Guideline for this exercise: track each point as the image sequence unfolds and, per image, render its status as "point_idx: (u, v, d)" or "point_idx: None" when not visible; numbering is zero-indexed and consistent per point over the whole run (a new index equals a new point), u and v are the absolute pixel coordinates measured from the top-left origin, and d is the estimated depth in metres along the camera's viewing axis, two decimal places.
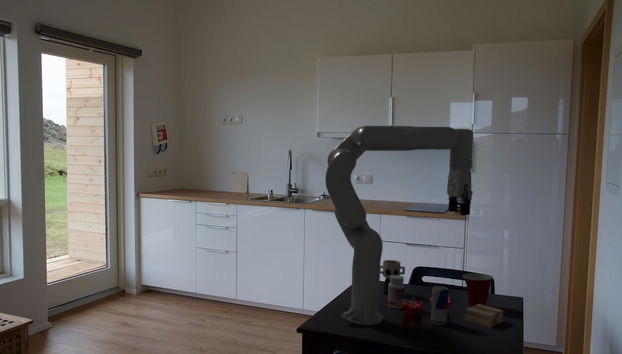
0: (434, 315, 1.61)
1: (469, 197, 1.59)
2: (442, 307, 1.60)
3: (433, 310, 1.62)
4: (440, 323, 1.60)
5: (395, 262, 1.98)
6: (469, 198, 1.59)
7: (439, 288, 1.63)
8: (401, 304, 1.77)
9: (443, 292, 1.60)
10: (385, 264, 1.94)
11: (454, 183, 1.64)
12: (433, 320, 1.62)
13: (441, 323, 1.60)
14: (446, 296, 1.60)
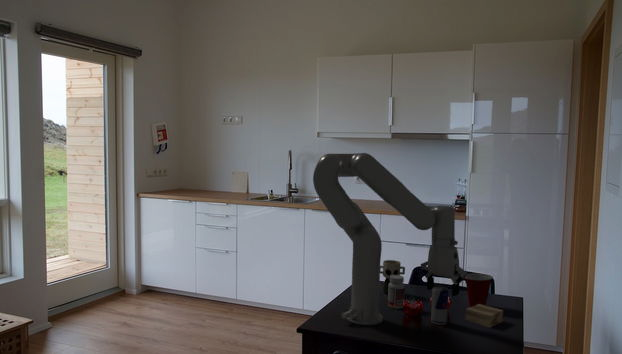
0: (434, 315, 1.61)
1: None
2: (442, 307, 1.60)
3: (433, 310, 1.62)
4: (440, 323, 1.60)
5: (395, 262, 1.98)
6: None
7: (439, 288, 1.63)
8: (401, 304, 1.77)
9: (443, 292, 1.60)
10: (385, 264, 1.94)
11: None
12: (433, 320, 1.62)
13: (441, 323, 1.60)
14: (446, 296, 1.60)
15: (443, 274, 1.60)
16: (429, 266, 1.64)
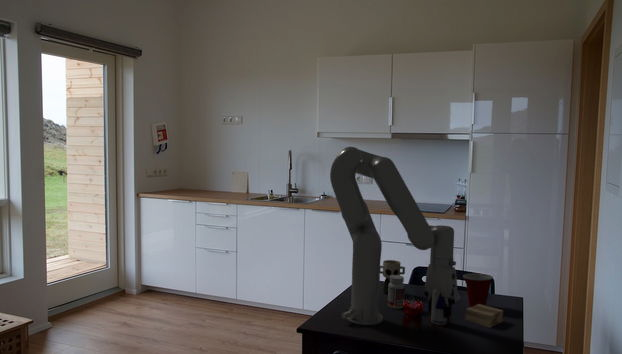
0: (434, 315, 1.61)
1: None
2: (442, 307, 1.60)
3: (433, 310, 1.62)
4: (440, 323, 1.60)
5: (395, 262, 1.98)
6: None
7: None
8: (401, 304, 1.77)
9: None
10: (385, 264, 1.94)
11: None
12: (433, 320, 1.62)
13: (441, 323, 1.60)
14: None
15: None
16: (427, 285, 1.64)
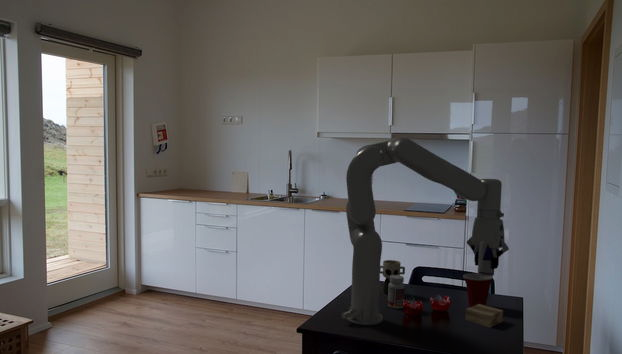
0: (482, 267, 1.63)
1: None
2: (489, 258, 1.62)
3: (480, 262, 1.64)
4: (488, 274, 1.62)
5: (395, 262, 1.98)
6: None
7: None
8: (401, 304, 1.77)
9: None
10: (385, 264, 1.94)
11: None
12: (480, 272, 1.63)
13: (489, 274, 1.62)
14: None
15: None
16: (473, 238, 1.66)
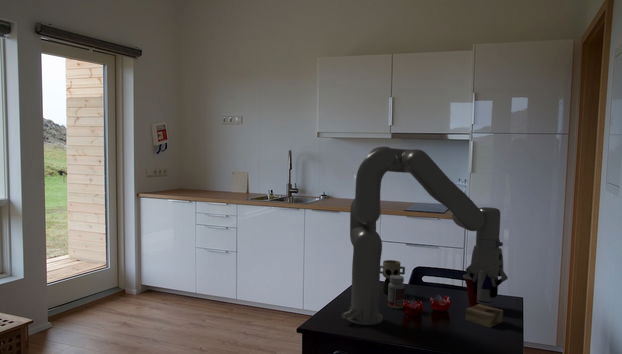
0: (481, 295, 1.64)
1: None
2: (488, 287, 1.62)
3: (479, 290, 1.64)
4: (487, 303, 1.63)
5: (395, 262, 1.98)
6: None
7: None
8: (401, 304, 1.77)
9: None
10: (385, 264, 1.94)
11: None
12: (479, 300, 1.64)
13: (488, 303, 1.63)
14: None
15: None
16: (472, 266, 1.66)
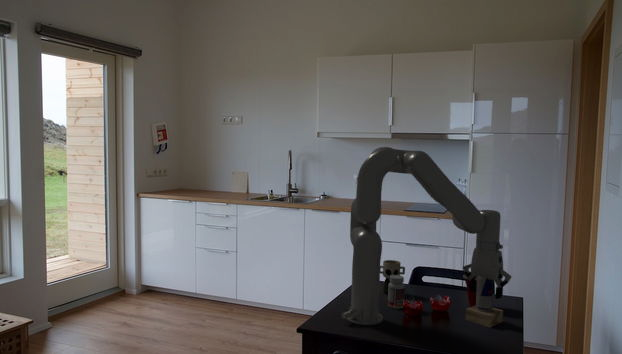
0: (480, 302, 1.64)
1: None
2: (487, 294, 1.63)
3: (478, 297, 1.64)
4: (486, 310, 1.63)
5: (395, 262, 1.98)
6: None
7: None
8: (401, 304, 1.77)
9: (489, 280, 1.62)
10: (385, 264, 1.94)
11: None
12: (479, 307, 1.64)
13: (487, 310, 1.63)
14: (491, 283, 1.63)
15: (487, 277, 1.62)
16: (472, 269, 1.66)
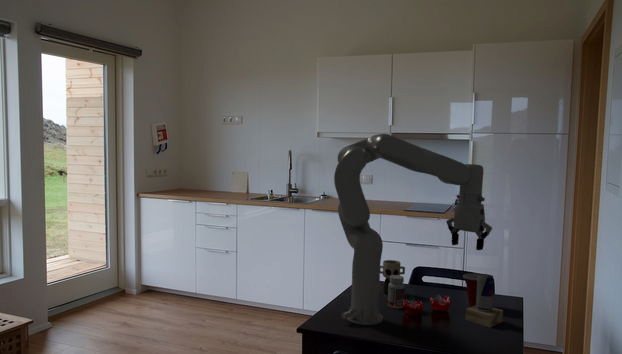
0: (480, 302, 1.64)
1: None
2: (487, 294, 1.63)
3: (479, 297, 1.64)
4: (486, 310, 1.63)
5: (395, 262, 1.98)
6: None
7: (484, 276, 1.65)
8: (401, 304, 1.77)
9: (489, 280, 1.62)
10: (385, 264, 1.94)
11: None
12: (479, 307, 1.64)
13: (487, 310, 1.63)
14: (492, 283, 1.63)
15: (469, 229, 1.66)
16: (455, 222, 1.70)
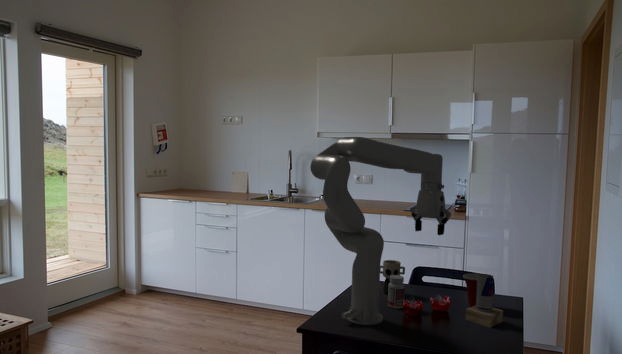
0: (480, 302, 1.64)
1: None
2: (487, 294, 1.63)
3: (479, 297, 1.64)
4: (486, 310, 1.63)
5: (395, 262, 1.98)
6: None
7: (484, 276, 1.65)
8: (401, 304, 1.77)
9: (489, 280, 1.62)
10: (385, 264, 1.94)
11: None
12: (479, 307, 1.64)
13: (487, 310, 1.63)
14: (492, 283, 1.63)
15: (430, 215, 1.74)
16: (417, 209, 1.78)
